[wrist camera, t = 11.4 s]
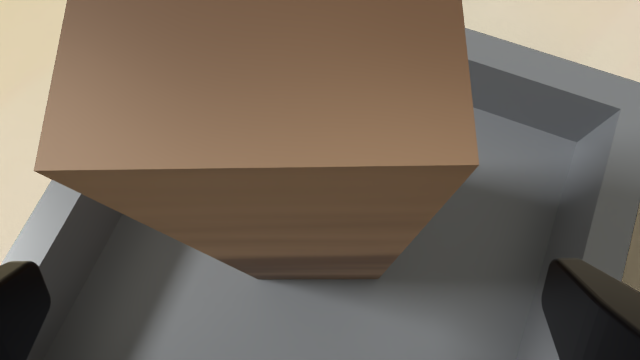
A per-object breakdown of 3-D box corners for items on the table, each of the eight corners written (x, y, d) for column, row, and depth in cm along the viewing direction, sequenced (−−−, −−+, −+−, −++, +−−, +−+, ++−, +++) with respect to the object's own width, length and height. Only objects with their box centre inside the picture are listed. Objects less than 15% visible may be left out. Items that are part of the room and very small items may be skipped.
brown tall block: (378, 278, 17) (478, 164, 4) (257, 279, 17) (34, 170, 5) (374, 163, 18) (443, -171, 6) (262, 165, 18) (96, -156, 6)
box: (472, 622, 15) (518, 729, 11) (12, 383, 17) (-82, 401, 14) (600, 136, 19) (665, 90, 15) (220, 8, 22) (194, -58, 18)
